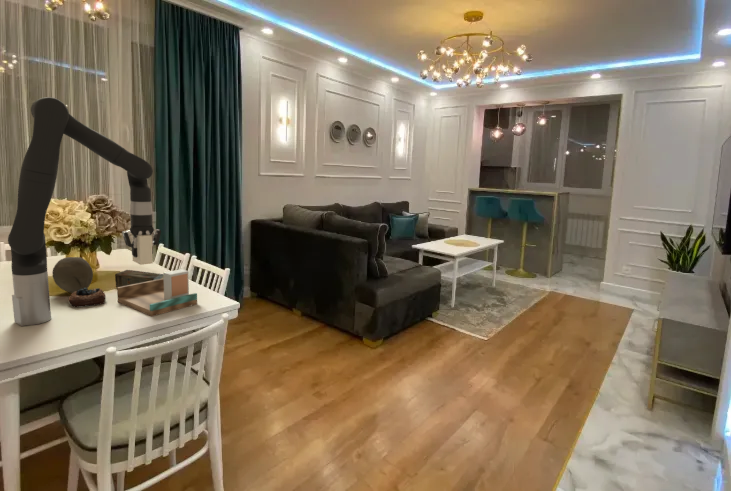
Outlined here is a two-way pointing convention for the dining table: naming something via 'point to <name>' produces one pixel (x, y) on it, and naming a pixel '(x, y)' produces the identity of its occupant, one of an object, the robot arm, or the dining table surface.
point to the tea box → (144, 250)
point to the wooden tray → (152, 298)
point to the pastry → (87, 297)
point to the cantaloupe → (72, 274)
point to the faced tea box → (176, 284)
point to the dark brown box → (135, 277)
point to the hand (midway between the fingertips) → (142, 256)
